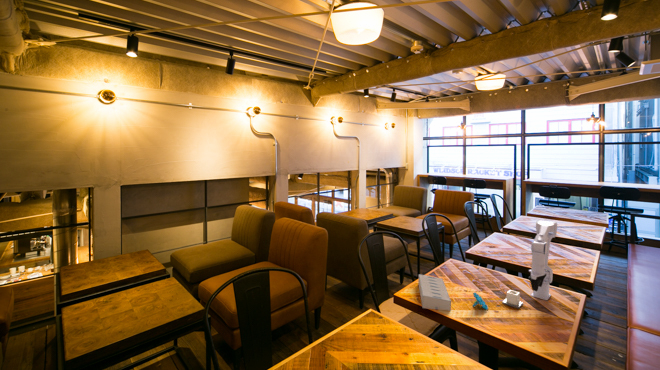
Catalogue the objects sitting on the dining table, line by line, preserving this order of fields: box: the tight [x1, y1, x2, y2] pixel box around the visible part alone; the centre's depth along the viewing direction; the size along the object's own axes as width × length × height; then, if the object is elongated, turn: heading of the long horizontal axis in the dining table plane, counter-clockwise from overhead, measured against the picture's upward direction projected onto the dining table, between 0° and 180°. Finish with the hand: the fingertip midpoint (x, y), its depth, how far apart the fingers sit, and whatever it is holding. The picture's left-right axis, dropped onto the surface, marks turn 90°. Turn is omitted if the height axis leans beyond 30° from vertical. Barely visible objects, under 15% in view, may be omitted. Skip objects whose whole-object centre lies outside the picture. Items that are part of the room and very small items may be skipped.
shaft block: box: [502, 298, 524, 310], centre depth 164 cm, size 8×8×6 cm
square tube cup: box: [505, 289, 521, 305], centre depth 163 cm, size 5×5×6 cm
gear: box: [472, 292, 489, 311], centre depth 161 cm, size 11×6×10 cm
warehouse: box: [417, 274, 452, 312], centre depth 173 cm, size 30×14×8 cm, turn 167°
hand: (536, 288), depth 160 cm, fingers open, 7 cm apart
